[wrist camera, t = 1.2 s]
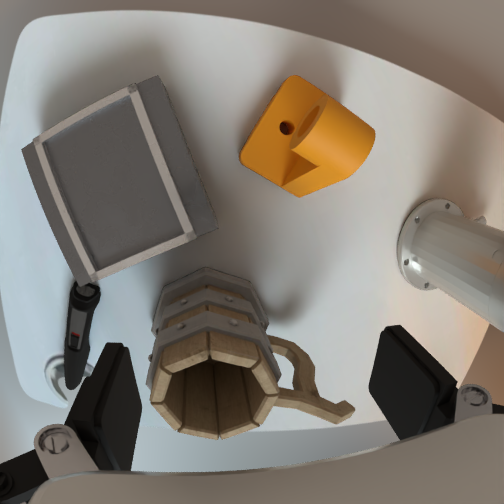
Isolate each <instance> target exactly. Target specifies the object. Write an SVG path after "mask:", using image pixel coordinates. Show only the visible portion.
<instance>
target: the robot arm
mask: <svg viewBox="0 0 504 504" xmlns="http://www.w3.org/2000/svg"><path fill="white" fill-rule="evenodd" d="M397 258H398V265H399V268H400V271H401V273H402V275H403V277H404V278H405V279H406V280H407V282H408V283H410V284H411V285H412V286H414V287H416V288H418V289H420V290H433V289H436V288H438V289H440V290H441V291H443V292H445V293H446V294H448V295H449V296H451V297H452V298H454V299H455V300H457V301H458V302H460V303H461V304H463V305H464V306H466V307H467V308H469V309H470V310H472V311H473V312H474V313H476V314H477V315H479V316H480V317H482V318H483V319H485V320H486V321H488V322H489V323H490V324H492V325H493V326H495V327H496V328H498V329H499V330H500V331H502V332H504V231H502V230H499V229H496V228H493V227H491V226H488V225H486V219H485V217H483V216H481V217H479V218H477V219H476V220H473V219H470V218H467V217H465V216H464V214H463V212H462V211H461V209H460V208H459V207H458V206H457V205H456V204H455V203H453V202H451V201H449V200H445V199H439V198H435V199H430V200H428V201H425V202H423V203H422V204H420V205H419V206H418V207H417V208H416V209H415V210H414V211H413V212H412V213H411V214H410V216H409V217H408V218H407V220H406V222H405V224H404V226H403V228H402V231H401V234H400V237H399V242H398V248H397ZM456 385H457V381H456V380H455V379H454V378H453V376H452V375H451V374H450V373H449V372H448V371H447V370H446V369H445V368H444V367H443V366H442V365H441V364H440V363H439V362H438V361H437V360H436V359H435V358H434V357H433V356H432V355H431V354H430V353H429V352H428V351H427V350H426V349H425V348H424V347H423V346H422V345H421V344H420V343H419V342H418V341H416V340H415V339H414V338H413V337H412V336H411V335H410V334H409V333H408V332H407V331H406V330H405V329H404V328H403V327H402V326H401V325H394V326H387V327H385V329H384V331H382V332H381V334H380V339H379V343H378V348H377V352H376V357H375V361H374V365H373V370H372V374H371V378H370V382H369V392H370V394H371V395H372V397H373V398H374V400H375V402H376V403H377V405H378V406H379V408H380V409H381V411H382V413H383V414H384V416H385V417H386V419H387V420H388V422H389V424H390V425H391V427H392V428H393V430H394V431H395V433H396V435H397V436H398V438H399V439H400V441H397V442H393V443H390V444H387V445H383V446H379V447H375V448H372V449H368V450H364V451H360V452H356V453H351V454H347V455H343V456H338V457H333V458H328V459H322V460H317V461H311V462H305V463H300V464H293V465H286V466H278V467H270V468H261V469H250V470H237V471H220V472H144V471H131V466H132V460H133V455H134V449H135V444H136V438H137V433H138V428H139V423H140V418H141V413H142V403H141V399H140V395H139V391H138V387H137V383H136V379H135V375H134V371H133V366H132V362H131V357H130V352H129V349H128V347H124V345H123V344H122V343H106V344H105V347H104V349H103V351H102V353H101V355H100V357H99V359H98V361H97V363H96V366H95V368H94V370H93V372H92V374H91V376H90V377H86V378H85V379H84V381H83V383H82V385H81V388H80V390H79V392H78V394H77V396H76V398H75V401H74V403H73V405H72V407H71V410H70V412H69V414H68V417H67V419H66V421H65V424H64V425H62V424H52V425H48V426H46V427H44V428H42V429H41V430H40V431H39V432H38V433H37V435H36V436H35V438H34V447H35V449H34V450H32V451H29V452H27V453H25V454H22V455H20V456H18V457H15V458H13V459H11V460H8V461H6V462H4V463H1V464H0V504H504V406H501V405H497V404H492V398H491V395H490V393H489V392H488V391H487V390H486V389H485V388H483V387H481V386H479V385H475V384H467V385H463V386H461V388H459V389H457V388H456Z"/></svg>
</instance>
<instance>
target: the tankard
mask: <svg viewBox="0 0 504 504" xmlns="http://www.w3.org/2000/svg"><path fill="white" fill-rule="evenodd" d="M268 325H269V321H268V318H267V316H266V314H265V312H264V310H263V308H262V306H261V304H260V302H259V300H258V297H257V295H256V293H255V291H254V289H253V287H252V285H251V283H250V281H247V280H244V279H241V278H237V277H234V276H231V275H228V274H225V273H222V272H218V271H215V270H212V269H209V268H206V267H205V268H203V269H200V270H198V271H196V272H194V273H192V274H190V275H188V276H186V277H183V278H181V279H179V280H177V281H175V282H173V283H171V284H168V285H166V286H164V287H163V291H162V294H161V297H160V301H159V304H158V308H157V311H156V314H155V318H154V321H153V325H152V329H151V331H152V333H153V334H154V336H155V337H156V339H155V343H154V347H153V351H152V354H151V355H149V357H148V359H149V361H150V362H151V363H150V366H149V370H148V375H147V380H146V385H147V387H148V388H149V389H150V390H151V394H150V401H151V405H152V406H153V407H154V408H155V409H156V410H157V412H158V413H159V414H160V415H161V416H162V417H163V418H164V419H165V421H166V422H167V423H168V424H169V425H170V426H171V427H172V428H173V429H174V430H177V429H178V432H179V433H184V434H189V435H193V436H199V437H204V438H209V439H215V440H218V438H219V436H220V437H221V439H226V438H229V437H231V436H234V435H237V434H240V433H243V432H246V431H248V430H251V429H254V428H256V427H259V426H260V425H259V424H263V422H264V421H265V419H266V417H267V416H268V414H269V412H270V410H271V409H272V407H273V406H278V407H285V408H293V409H298V410H300V411H303V412H306V413H309V414H311V415H314V416H317V417H319V418H321V419H324V420H326V421H329V422H331V423H334V424H338V423H340V422H342V421H344V420H346V419H348V418H350V417H351V416H352V414H353V413H354V411H355V408H354V407H353V406H352V405H351V404H349V403H348V402H347V401H345V400H344V401H341V402H339V403H337V404H334V403H332V402H330V401H328V400H326V399H324V398H322V397H320V396H319V393H318V390H317V387H316V384H315V381H314V380H315V366H314V364H313V362H312V360H311V359H310V357H309V355H308V354H307V353H306V352H304V351H303V350H302V349H301V348H300V347H299V346H297V345H296V344H295V343H294V342H291V341H288V340H285V339H281V338H278V337H275V336H270V335H267V334H266V332H265V331H266V329H267V327H268ZM272 353H277V354H280V355H282V356H285V357H286V358H287V359H288V360H289V361H290V362H291V363H292V364H293V366H294V369H295V370H294V376H293V382H292V384H293V387H294V390H291V389H286V388H281V387H278V384H277V383H278V381H279V379H280V377H281V372H280V369H279V366H278V364H277V361H276V359H275V357H274V355H273V354H272Z"/></svg>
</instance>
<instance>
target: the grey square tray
mask: <svg viewBox="0 0 504 504" xmlns="http://www.w3.org/2000/svg"><path fill="white" fill-rule="evenodd" d="M21 150H22V153H23V156H24V159H25V162H26V165H27V168H28V171H29V174H30V176H31V179H32V182H33V185H34V187H35V190H36V193H37V195H38V198H39V200H40V203H41V205H42V208H43V210H44V213H45V215H46V217H47V220H48V222H49V224H50V227H51V229H52V231H53V233H54V236H55V238H56V240H57V242H58V244H59V247H60V249H61V251H62V253H63V255H64V257H65V259H66V261H67V263H68V265H69V267H70V269H71V271H72V273H73V275H74V277H75V279H76V281H77V283H78V285H79V287H81V286H83V285H85V284H88V283H90V282H95V281H98V280H100V279H102V278H104V277H107V276H109V275H111V274H114V273H116V272H118V271H121V270H123V269H125V268H128V267H130V266H132V265H135V264H137V263H139V262H142V261H144V260H146V259H149V258H151V257H153V256H156V255H158V254H161V253H163V252H165V251H168V250H170V249H173V248H175V247H178V246H180V245H182V244H185V243H187V242H190V241H192V240H195V239H197V237H198V236H201V235H203V234H206V233H208V232H211V231H213V230H216V229H218V225H217V220H216V216H215V214H214V211H213V209H212V206H211V204H210V201H209V199H208V196H207V194H206V191H205V189H204V186H203V184H202V181H201V179H200V176H199V174H198V171H197V169H196V166H195V164H194V161H193V159H192V156H191V154H190V151H189V148H188V146H187V143H186V141H185V138H184V136H183V133H182V131H181V128H180V125H179V123H178V120H177V118H176V115H175V112H174V110H173V107H172V105H171V102H170V99H169V97H168V94H167V91H166V89H165V86H164V85H163V83H162V81H161V79H160V78H159V76H158V75H157V76H155V77H152V78H150V79H148V80H145V81H143V82H141V83H139V84H136V83H134V84H132V85H130V86H127V87H125V88H123V89H121V90H119V91H117V92H115V93H113V94H111V95H109V96H107V97H105V98H103V99H101V100H99V101H97V102H95V103H93V104H91V105H90V106H88V107H86V108H84V109H82V110H80V111H79V112H77V113H75V114H73V115H72V116H70V117H68V118H66V119H65V120H63V121H61V122H60V123H58V124H56V125H55V126H53V127H51V128H50V129H48V130H47V131H45V132H43V133H42V134H40V135H39V136H37V137H36V138H34V139H33V142H31V143H30V144H28V145H27V146H26V147H24V148H23V149H21Z"/></svg>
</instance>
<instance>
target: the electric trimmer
mask: <svg viewBox="0 0 504 504" xmlns="http://www.w3.org/2000/svg"><path fill="white" fill-rule="evenodd" d="M100 296H101V293H100V288H99V287H98V286H96V285H93V284H90V283H88V284H85V285H83V286H81V287H79V285H78V283H77V281H75V283H74V285H73V287H72V289H71V291H70V298H69V307H68V317H67V332H66V338H65V349H64V369H65V383H66V387H67V388H68V389H69V390H74V389H75V388H76V387H77V386H78V385H79V384H80V382H81V380H82V377H83V374H84V370H85V366H86V363H87V359H88V356H89V352H90V346H89V344H88V339H89V333H90V328H91V322H92V318H93V314H94V310H95V308H96V306H97V305H98V303H99V301H100Z"/></svg>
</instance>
